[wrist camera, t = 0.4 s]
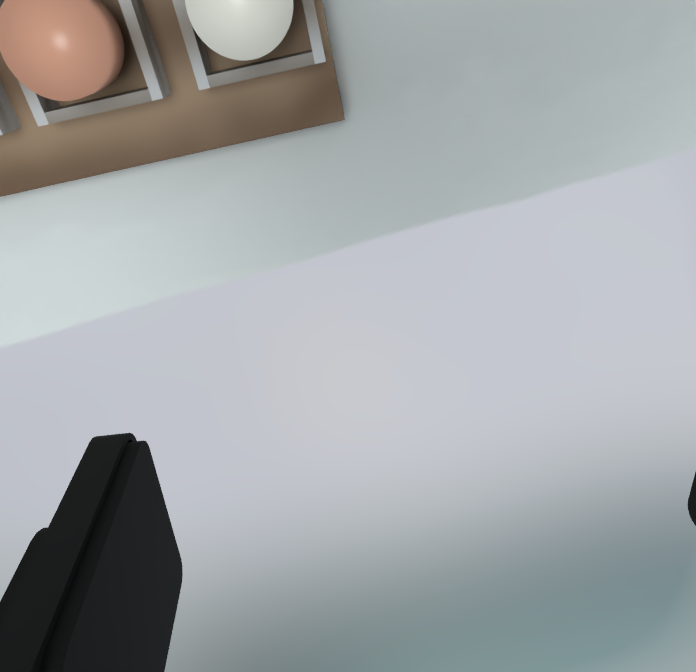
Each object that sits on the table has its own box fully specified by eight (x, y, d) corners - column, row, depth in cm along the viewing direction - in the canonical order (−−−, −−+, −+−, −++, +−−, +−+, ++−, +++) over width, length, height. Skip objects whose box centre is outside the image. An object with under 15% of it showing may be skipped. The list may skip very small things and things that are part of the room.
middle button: (4, -3, 29) (-24, -4, 27) (101, -25, 29) (82, -29, 27) (48, 103, 32) (26, 111, 29) (138, 82, 32) (124, 88, 29)
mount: (-178, -50, 32) (-261, -62, 27) (288, -161, 32) (287, -192, 27) (-46, 199, 39) (-94, 225, 34) (341, 112, 38) (347, 126, 33)
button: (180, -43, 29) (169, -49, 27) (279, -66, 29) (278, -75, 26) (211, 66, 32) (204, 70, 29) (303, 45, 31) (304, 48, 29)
